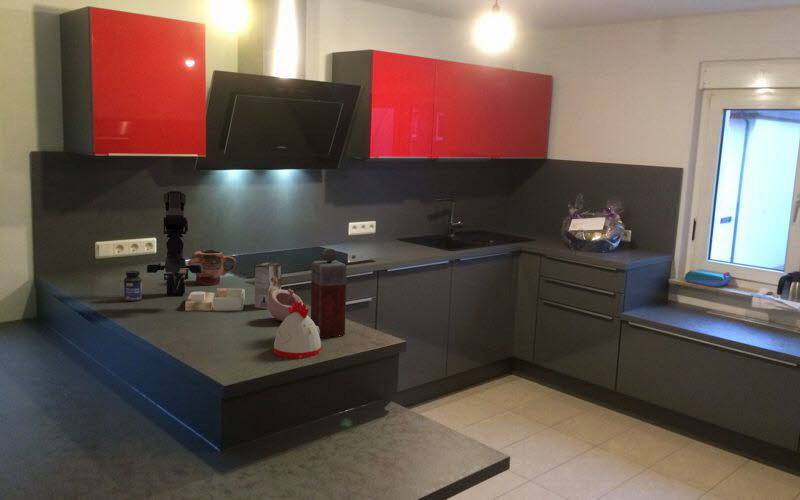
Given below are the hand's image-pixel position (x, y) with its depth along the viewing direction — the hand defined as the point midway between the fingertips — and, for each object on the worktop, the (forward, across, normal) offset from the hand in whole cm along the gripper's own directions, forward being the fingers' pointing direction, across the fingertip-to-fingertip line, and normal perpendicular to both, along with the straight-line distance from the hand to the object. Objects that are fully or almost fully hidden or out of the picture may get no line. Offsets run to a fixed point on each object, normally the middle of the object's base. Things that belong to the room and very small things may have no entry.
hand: (175, 291), depth 247 cm
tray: (+6, +19, +4) cm, 20 cm away
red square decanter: (+6, +52, -36) cm, 63 cm away
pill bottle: (+6, -17, +12) cm, 22 cm away
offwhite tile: (+3, +8, 0) cm, 9 cm away
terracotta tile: (+3, +15, +8) cm, 17 cm away
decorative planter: (+6, +9, +45) cm, 47 cm away
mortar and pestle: (+6, +39, -20) cm, 44 cm away
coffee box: (+6, +33, +2) cm, 34 cm away
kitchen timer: (+6, +42, -56) cm, 70 cm away
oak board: (+6, +8, +4) cm, 11 cm away
